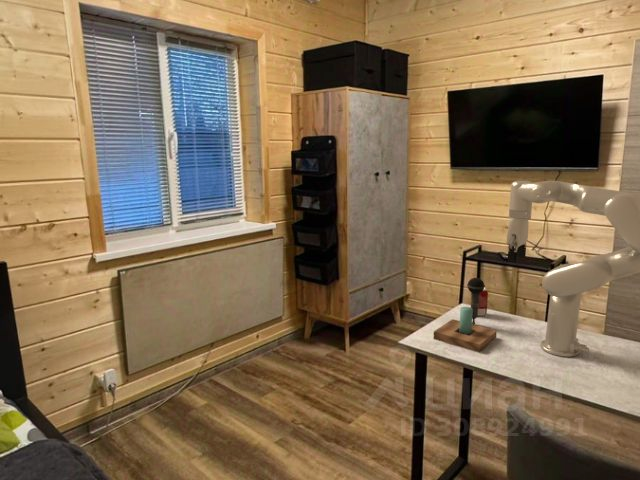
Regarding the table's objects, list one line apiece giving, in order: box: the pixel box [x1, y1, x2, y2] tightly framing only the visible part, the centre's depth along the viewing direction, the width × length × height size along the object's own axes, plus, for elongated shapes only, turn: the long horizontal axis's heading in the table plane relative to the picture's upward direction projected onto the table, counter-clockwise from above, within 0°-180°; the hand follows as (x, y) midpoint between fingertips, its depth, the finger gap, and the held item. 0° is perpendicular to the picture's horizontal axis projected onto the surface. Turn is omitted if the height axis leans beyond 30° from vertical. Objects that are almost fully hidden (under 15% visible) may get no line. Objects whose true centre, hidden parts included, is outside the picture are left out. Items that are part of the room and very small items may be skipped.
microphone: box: [466, 277, 486, 325], centre depth 185 cm, size 7×7×20 cm
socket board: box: [433, 318, 498, 353], centre depth 174 cm, size 18×16×3 cm
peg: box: [459, 306, 473, 336], centre depth 173 cm, size 4×4×12 cm
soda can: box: [477, 287, 489, 318], centre depth 196 cm, size 7×7×12 cm
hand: (516, 259), depth 171 cm, fingers open, 9 cm apart
